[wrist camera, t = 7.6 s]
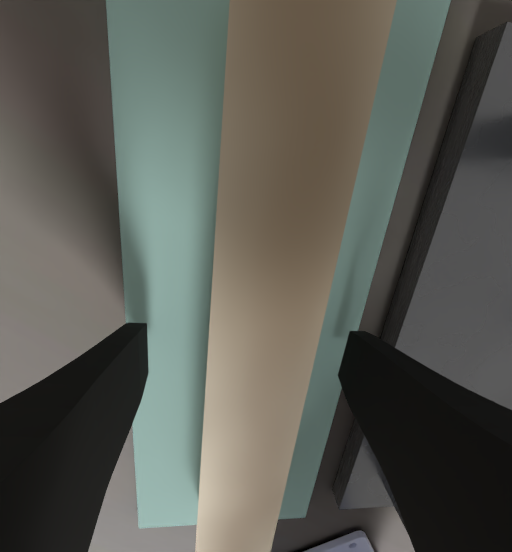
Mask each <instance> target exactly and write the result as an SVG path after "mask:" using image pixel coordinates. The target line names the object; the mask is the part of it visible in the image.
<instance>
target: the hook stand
mask: <svg viewBox="0 0 512 552" xmlns="http://www.w3.org/2000/svg"><path fill="white" fill-rule="evenodd" d="M380 339H381V340H383V341H384V342H386V343H388V344H390V345H391V346H393V347H395V348H396V349H398V350H400V351H401V352H403V353H405V354H406V355H408V356H409V357H411V358H413V359H415V360H416V361H418V362H420V363H421V364H423V365H425V366H426V367H428V368H430V369H432V370H433V371H435V372H437V373H439V374H441V375H442V376H444V377H446V378H448V379H450V380H451V381H453V382H455V383H457V384H459V385H461V386H463V387H465V388H467V389H468V390H470V391H472V392H474V393H477V394H479V395H481V396H483V397H485V398H487V399H489V400H491V401H493V402H495V403H497V404H499V405H502V406H504V407H506V408H508V409H511V410H512V23H511V22H506V23H504V24H502V25H500V26H498V27H496V28H494V29H492V30H490V31H488V32H486V33H484V34H482V35H480V36H478V37H477V38H476V40H475V44H474V47H473V50H472V53H471V56H470V59H469V62H468V66H467V69H466V72H465V75H464V78H463V81H462V84H461V87H460V91H459V94H458V97H457V100H456V103H455V106H454V109H453V113H452V116H451V119H450V122H449V125H448V128H447V131H446V134H445V138H444V141H443V144H442V147H441V150H440V153H439V156H438V160H437V163H436V166H435V169H434V172H433V175H432V178H431V181H430V185H429V188H428V191H427V194H426V197H425V200H424V203H423V207H422V210H421V213H420V216H419V219H418V222H417V225H416V228H415V232H414V235H413V238H412V241H411V244H410V247H409V250H408V254H407V257H406V260H405V263H404V266H403V269H402V272H401V275H400V279H399V282H398V285H397V288H396V291H395V294H394V297H393V301H392V304H391V307H390V310H389V313H388V316H387V319H386V323H385V326H384V329H383V332H382V335H381V338H380ZM332 491H333V494H334V497H335V500H336V503H337V505H338V508H339V510H342V509H358V508H374V507H390V506H394V507H395V509H396V511H397V513H398V515H399V517H400V519H401V521H402V523H403V525H404V527H405V529H406V526H405V524H404V521H403V518H402V516H401V513H400V511H399V508H398V506H397V503H396V501H395V499H394V496H393V494H392V491H391V489H390V486H389V484H388V482H387V479H386V477H385V475H384V473H383V471H382V469H381V467H380V464H379V462H378V460H377V459H376V457H375V455H374V453H373V451H372V449H371V447H370V445H369V443H368V441H367V439H366V437H365V435H364V434H363V432H362V430H361V428H360V426H359V424H358V422H357V420H356V418H355V420H354V423H353V426H352V429H351V432H350V435H349V438H348V442H347V445H346V448H345V451H344V454H343V457H342V460H341V464H340V467H339V470H338V473H337V476H336V479H335V482H334V485H333V489H332ZM406 530H407V529H406ZM407 532H408V531H407Z"/></svg>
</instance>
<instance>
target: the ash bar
mask: <svg viewBox="0 0 512 552" xmlns="http://www.w3.org/2000/svg"><path fill="white" fill-rule="evenodd" d="M396 2H397V0H230V3H229V19H228V35H227V51H226V67H225V83H224V99H223V115H222V131H221V147H220V163H219V179H218V195H217V211H216V227H215V243H214V259H213V275H212V292H211V308H210V324H209V340H208V356H207V372H206V388H205V404H204V420H203V436H202V452H201V468H200V484H199V500H198V516H197V532H196V548H195V552H271V548H272V543H273V539H274V535H275V530H276V526H277V522H278V517H279V513H280V509H281V504H282V500H283V495H284V491H285V487H286V482H287V478H288V474H289V469H290V465H291V461H292V456H293V452H294V447H295V443H296V439H297V434H298V430H299V426H300V421H301V417H302V413H303V408H304V404H305V399H306V395H307V391H308V386H309V382H310V378H311V373H312V369H313V365H314V360H315V356H316V351H317V347H318V343H319V338H320V334H321V330H322V325H323V321H324V317H325V312H326V308H327V303H328V299H329V295H330V290H331V286H332V282H333V277H334V273H335V269H336V264H337V260H338V255H339V251H340V247H341V242H342V238H343V234H344V229H345V225H346V221H347V216H348V212H349V207H350V203H351V199H352V194H353V190H354V186H355V181H356V177H357V173H358V168H359V164H360V159H361V155H362V151H363V146H364V142H365V138H366V133H367V129H368V125H369V120H370V116H371V111H372V107H373V103H374V98H375V94H376V90H377V85H378V81H379V77H380V72H381V68H382V63H383V59H384V55H385V50H386V46H387V42H388V37H389V33H390V29H391V24H392V20H393V15H394V11H395V7H396Z"/></svg>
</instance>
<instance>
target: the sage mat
mask: <svg viewBox="0 0 512 552" xmlns="http://www.w3.org/2000/svg"><path fill="white" fill-rule="evenodd" d="M450 2H451V0H397V2H396V7H395V11H394V15H393V20H392V24H391V29H390V33H389V37H388V42H387V46H386V50H385V55H384V59H383V63H382V68H381V72H380V77H379V81H378V85H377V90H376V94H375V98H374V103H373V107H372V111H371V116H370V120H369V125H368V129H367V133H366V138H365V142H364V146H363V151H362V155H361V159H360V164H359V168H358V173H357V177H356V181H355V186H354V190H353V194H352V199H351V203H350V207H349V212H348V216H347V221H346V225H345V229H344V234H343V238H342V242H341V247H340V251H339V255H338V260H337V264H336V269H335V273H334V277H333V282H332V286H331V290H330V295H329V299H328V303H327V308H326V312H325V317H324V321H323V325H322V330H321V334H320V338H319V343H318V347H317V351H316V356H315V360H314V365H313V369H312V373H311V378H310V382H309V386H308V391H307V395H306V399H305V404H304V408H303V413H302V417H301V421H300V426H299V430H298V434H297V439H296V443H295V447H294V452H293V456H292V461H291V465H290V469H289V474H288V478H287V482H286V487H285V491H284V495H283V500H282V504H281V509H280V513H279V517H278V519H292V518H305V517H306V513H307V510H308V506H309V502H310V499H311V495H312V492H313V488H314V485H315V481H316V478H317V474H318V471H319V467H320V463H321V460H322V456H323V453H324V449H325V446H326V442H327V439H328V435H329V431H330V428H331V424H332V421H333V417H334V414H335V410H336V407H337V403H338V400H339V396H340V392H341V389H342V386H341V383H340V380H339V378H338V372H339V369H340V365H341V361H342V357H343V354H344V350H345V346H346V343H347V339H348V335H349V331H358V329H359V325H360V322H361V318H362V314H363V311H364V307H365V304H366V300H367V297H368V293H369V290H370V286H371V282H372V279H373V275H374V272H375V268H376V265H377V261H378V258H379V254H380V251H381V247H382V243H383V240H384V236H385V233H386V229H387V226H388V222H389V219H390V215H391V212H392V208H393V204H394V201H395V197H396V194H397V190H398V187H399V183H400V180H401V176H402V173H403V169H404V165H405V162H406V158H407V155H408V151H409V148H410V144H411V141H412V137H413V133H414V130H415V126H416V123H417V119H418V116H419V112H420V109H421V105H422V102H423V98H424V94H425V91H426V87H427V84H428V80H429V77H430V73H431V70H432V66H433V63H434V59H435V55H436V52H437V48H438V45H439V41H440V38H441V34H442V31H443V27H444V24H445V20H446V16H447V13H448V9H449V6H450ZM229 3H230V0H106V10H107V26H108V42H109V58H110V74H111V90H112V106H113V122H114V138H115V154H116V170H117V186H118V202H119V218H120V234H121V250H122V266H123V282H124V298H125V314H126V323H128V322H130V323H147V337H148V369H149V373H148V377H147V381H146V385H145V389H144V393H143V396H142V400H141V403H140V405H139V408H138V411H137V413H136V416H135V418H134V421H133V423H132V426H133V442H134V458H135V474H136V490H137V506H138V522H139V528H153V527H168V526H184V525H197V516H198V500H199V484H200V468H201V452H202V436H203V420H204V404H205V388H206V372H207V356H208V340H209V324H210V308H211V292H212V275H213V259H214V243H215V227H216V211H217V195H218V179H219V163H220V147H221V131H222V115H223V99H224V83H225V67H226V51H227V35H228V19H229Z"/></svg>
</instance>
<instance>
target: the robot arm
mask: <svg viewBox="0 0 512 552" xmlns="http://www.w3.org/2000/svg"><path fill="white" fill-rule="evenodd" d="M148 373H149V369H148V337H147V323H130V322H128V323H126V324H125V325H123V326H122V327H120V328H119V329H118V330H116V331H115V332H113V333H112V334H111V335H109V336H108V337H106V338H105V339H104V340H102V341H101V342H99V343H98V344H97V345H95V346H94V347H92V348H91V349H89V350H88V351H87V352H85V353H84V354H82V355H81V356H79V357H78V358H76V359H75V360H73V361H72V362H70V363H68V364H67V365H65V366H64V367H62V368H61V369H59V370H57V371H56V372H54V373H53V374H51V375H50V376H48V377H46V378H45V379H43V380H41V381H40V382H38V383H36V384H35V385H33V386H31V387H29V388H28V389H26V390H24V391H22V392H20V393H18V394H17V395H15V396H13V397H11V398H9V399H7V400H5V401H4V402H2V403H0V552H88V550H89V546H90V543H91V539H92V536H93V532H94V529H95V526H96V522H97V519H98V516H99V513H100V509H101V506H102V503H103V499H104V496H105V493H106V490H107V487H108V484H109V481H110V479H111V476H112V473H113V471H114V468H115V466H116V463H117V461H118V458H119V456H120V453H121V451H122V448H123V446H124V443H125V441H126V438H127V436H128V433H129V431H130V428H131V426H132V423H133V421H134V418H135V416H136V413H137V411H138V408H139V405H140V403H141V400H142V396H143V393H144V389H145V385H146V381H147V377H148ZM338 378H339V380H340V383H341V386H342V389H343V392H344V395H345V397H346V400H347V402H348V404H349V406H350V408H351V410H352V412H353V414H354V416H355V418H356V420H357V422H358V424H359V426H360V428H361V430H362V432H363V434H364V435H365V437H366V439H367V441H368V443H369V445H370V447H371V449H372V451H373V453H374V455H375V457H376V459H377V460H378V462H379V464H380V467H381V469H382V471H383V473H384V475H385V477H386V479H387V482H388V484H389V486H390V489H391V491H392V494H393V496H394V499H395V501H396V503H397V506H398V508H399V511H400V513H401V516H402V518H403V521H404V524H405V526H406V529H407V531H408V534H409V537H410V539H411V542H412V545H413V547H414V550H415V552H512V410H511V409H508V408H506V407H504V406H502V405H499V404H497V403H495V402H493V401H491V400H489V399H487V398H485V397H483V396H481V395H479V394H477V393H474V392H472V391H470V390H468V389H467V388H465V387H463V386H461V385H459V384H457V383H455V382H453V381H451V380H450V379H448V378H446V377H444V376H442V375H441V374H439V373H437V372H435V371H433V370H432V369H430V368H428V367H426V366H425V365H423V364H421V363H420V362H418V361H416V360H415V359H413V358H411V357H409V356H408V355H406V354H405V353H403V352H401V351H400V350H398V349H396V348H395V347H393V346H391V345H390V344H388V343H386V342H384V341H383V340H381V339H379V338H377V337H376V336H374V335H372V334H370V333H368V332H365V331H349V335H348V339H347V343H346V346H345V350H344V354H343V357H342V361H341V365H340V369H339V372H338ZM303 552H374V550H373V548H372V546H371V544H370V542H369V540H368V538H367V536H366V534H365V532H363V531H355V532H352V533H350V534H347V535H345V536H342V537H339V538H337V539H334V540H332V541H329V542H327V543H324V544H321V545H319V546H316V547H314V548H311V549H309V550H306V551H303Z"/></svg>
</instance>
